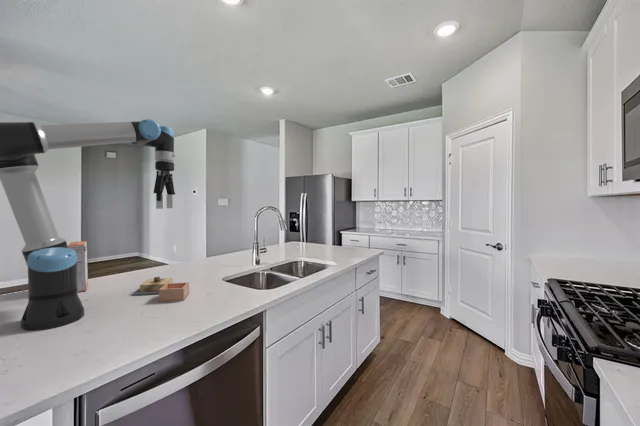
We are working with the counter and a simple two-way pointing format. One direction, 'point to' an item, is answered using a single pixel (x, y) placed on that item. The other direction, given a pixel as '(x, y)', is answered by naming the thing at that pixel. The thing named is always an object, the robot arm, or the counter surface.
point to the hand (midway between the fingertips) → (165, 208)
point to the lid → (154, 284)
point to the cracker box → (81, 264)
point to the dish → (174, 292)
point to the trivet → (145, 293)
